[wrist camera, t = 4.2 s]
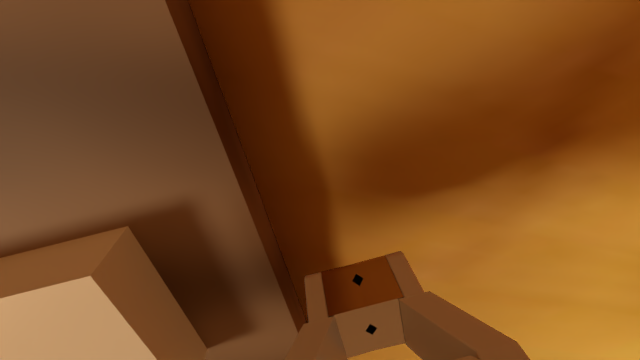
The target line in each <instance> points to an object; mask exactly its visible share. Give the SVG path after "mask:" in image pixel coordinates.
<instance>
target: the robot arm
mask: <svg viewBox="0 0 640 360" xmlns="http://www.w3.org/2000/svg"><path fill="white" fill-rule="evenodd" d="M304 283H305V293H306V303H307V314H308V323H305V324H303V326H302V328H301V329H300V331H299V333H298V335H297V337H296V339H295V341H294V343H293V345H292V346H291V348H290V350H289V352H288V354H287V356H286V358H285V360H348V359H347V358H349V357H353V356H356V355H360V354H363V353H366V352H370V351H373V350H377V349H381V348H386V347H390V346H394V345H399V344H403V343H406V345H407V346H408V347H409V348H410V349H411V350H413V351H414V352H415V353H416V354H417V355H418V356H419V357H420V358H421V359H423V360H530V359H529V358H528V356H527V355H526V353H525V352H524V351H523V349H522V348H521V347H520V345H519V344H518V343H517V342H516V341H514V340H513V339H511V338H509V337H507V336H506V335H504V334H502V333H501V332H499V331H497V330H495V329H494V328H492V327H490V326H489V325H487V324H485V323H483V322H482V321H480V320H478V319H476V318H475V317H473V316H471V315H470V314H468V313H466V312H464V311H463V310H461V309H459V308H458V307H456V306H454V305H452V304H451V303H449V302H447V301H445V300H444V299H442V298H440V297H439V296H437V295H435V294H433V293H432V292H430V291H429V292H424V291H423V289H422V287H421V285H420V283H419V282H418V280H417V278H416V276H415V274H414V272H413V271H412V269H411V267H410V265H409V263H408V261H407V259H406V258H405V256H404V254H403V253H402V252H401V251H398V252H395V253H391V254H387V255H385V256H380V257H377V258H373V259H369V260H366V261H362V262H358V263H354V264H351V265H347V266H343V267H339V268H334V269H330V270H326V271H322V272H319V273H315V274H310V275H306V276H305V279H304Z"/></svg>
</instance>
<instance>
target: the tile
mask: <svg viewBox="0 0 640 360" xmlns="http://www.w3.org/2000/svg"><path fill="white" fill-rule="evenodd" d="M206 352H207V348H206V346H205V345H204V343H203V341H202V340H201V338H200V337H199V335H198V334H197V332H196V331H195V329H194V328H193V326H192V324H191V323H190V321H189V320H188V318H187V317H186V315H185V314H184V312H183V311H182V309H181V307H180V306H179V304H178V303H177V301H176V300H175V298H174V297H173V295H172V294H171V292H170V290H169V289H168V287H167V286H166V284H165V283H164V281H163V280H162V278H161V277H160V275H159V273H158V272H157V270H156V269H155V267H154V266H153V264H152V263H151V261H150V260H149V258H148V256H147V255H146V253H145V252H144V250H143V249H142V247H141V246H140V244H139V243H138V241H137V239H136V238H135V236H134V235H133V233H132V232H131V230H130V229H129V227H128V226H126V227H122V228H118V229H114V230H110V231H106V232H102V233H98V234H94V235H90V236H86V237H82V238H78V239H74V240H70V241H66V242H62V243H58V244H54V245H50V246H46V247H42V248H38V249H34V250H30V251H26V252H23V253H19V254H15V255H11V256H7V257H3V258H0V360H205V356H206Z"/></svg>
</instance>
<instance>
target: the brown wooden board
mask: <svg viewBox="0 0 640 360" xmlns="http://www.w3.org/2000/svg"><path fill="white" fill-rule="evenodd" d="M126 226H128V227H129V229H130V230H131V232H132V233H133V235H134V236H135V238H136V239H137V241H138V243H139V244H140V246H141V247H142V249H143V250H144V252H145V253H146V255H147V256H148V258H149V260H150V261H151V263H152V264H153V266H154V267H155V269H156V270H157V272H158V273H159V275H160V277H161V278H162V280H163V281H164V283H165V284H166V286H167V287H168V289H169V290H170V292H171V294H172V295H173V297H174V298H175V300H176V301H177V303H178V304H179V306H180V307H181V309H182V311H183V312H184V314H185V315H186V317H187V318H188V320H189V321H190V323H191V324H192V326H193V328H194V329H195V331H196V332H197V334H198V335H199V337H200V338H201V340H202V341H203V343H204V345H205V346H206V348H207V352H206V356H205V360H285V358H286V356H287V354H288V352H289V350H290V348H291V346H292V345H293V343H294V341H295V339H296V337H297V335H298V333H299V331H300V329H301V328H302V326H303V324H305V323H307V322H306V319H305V317H304V314H303V311H302V309H301V306H300V303H299V300H298V298H297V295H296V292H295V290H294V287H293V284H292V281H291V279H290V276H289V273H288V271H287V268H286V265H285V262H284V260H283V257H282V254H281V252H280V249H279V246H278V244H277V241H276V238H275V235H274V233H273V230H272V227H271V225H270V222H269V219H268V216H267V214H266V211H265V208H264V206H263V203H262V200H261V197H260V195H259V192H258V189H257V187H256V184H255V181H254V178H253V176H252V173H251V170H250V168H249V165H248V162H247V160H246V157H245V154H244V151H243V149H242V146H241V143H240V141H239V138H238V135H237V132H236V130H235V127H234V124H233V122H232V119H231V116H230V113H229V111H228V108H227V105H226V103H225V100H224V97H223V94H222V92H221V89H220V86H219V84H218V81H217V78H216V75H215V73H214V70H213V67H212V65H211V62H210V59H209V57H208V54H207V51H206V48H205V46H204V43H203V40H202V38H201V35H200V32H199V29H198V27H197V24H196V21H195V19H194V16H193V13H192V10H191V8H190V5H189V2H188V0H0V258H3V257H7V256H11V255H15V254H19V253H23V252H26V251H30V250H34V249H38V248H42V247H46V246H50V245H54V244H58V243H62V242H66V241H70V240H74V239H78V238H82V237H86V236H90V235H94V234H98V233H102V232H106V231H110V230H114V229H118V228H122V227H126Z"/></svg>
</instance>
